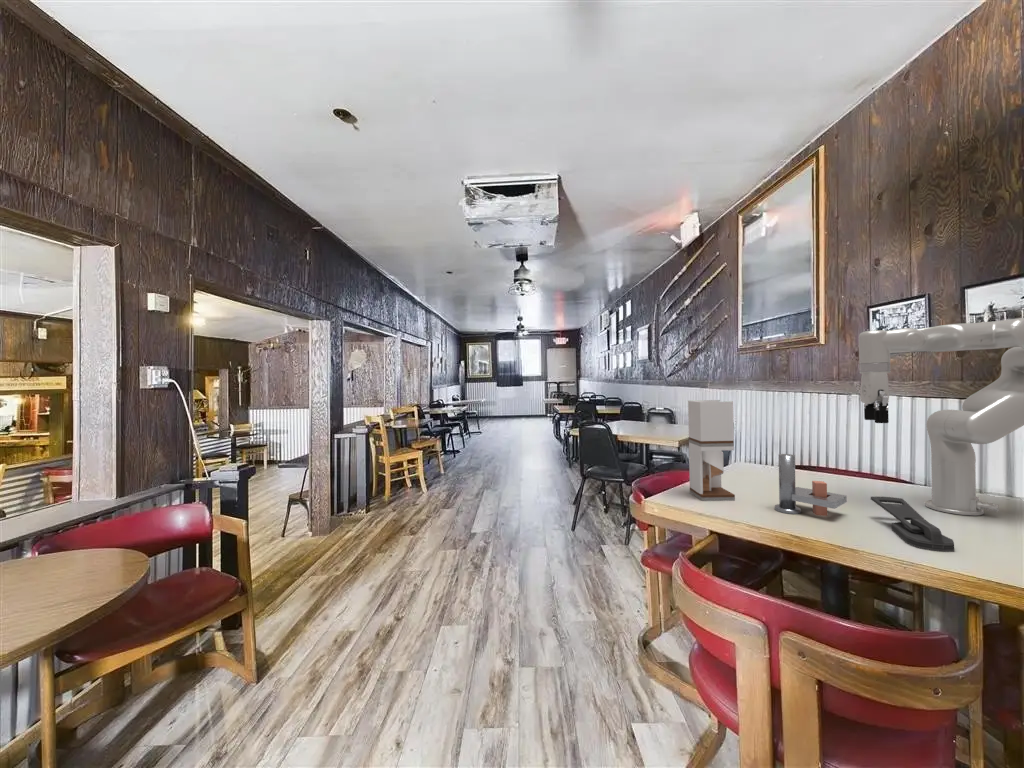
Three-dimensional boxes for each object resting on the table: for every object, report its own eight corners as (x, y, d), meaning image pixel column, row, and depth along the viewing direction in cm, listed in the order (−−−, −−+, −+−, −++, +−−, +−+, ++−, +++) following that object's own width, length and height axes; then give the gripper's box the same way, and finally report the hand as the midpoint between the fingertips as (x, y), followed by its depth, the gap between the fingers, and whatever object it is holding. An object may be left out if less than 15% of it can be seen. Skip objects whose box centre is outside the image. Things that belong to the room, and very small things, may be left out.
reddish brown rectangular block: (812, 512, 129) (812, 480, 129) (824, 512, 128) (823, 481, 128) (815, 514, 126) (815, 483, 126) (827, 515, 125) (826, 483, 125)
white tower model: (701, 500, 143) (700, 402, 143) (689, 492, 154) (688, 400, 154) (734, 500, 143) (733, 401, 142) (720, 492, 153) (718, 399, 153)
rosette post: (846, 514, 126) (845, 457, 126) (832, 524, 118) (831, 462, 118) (787, 502, 139) (786, 450, 139) (770, 510, 132) (769, 455, 132)
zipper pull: (904, 497, 121) (961, 526, 97) (904, 519, 121) (962, 554, 97) (866, 495, 124) (914, 522, 101) (867, 516, 124) (914, 549, 101)
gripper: (851, 369, 141) (853, 418, 141) (868, 369, 125) (870, 424, 125) (879, 368, 137) (881, 419, 138) (901, 368, 122) (902, 424, 122)
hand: (876, 421), depth 132 cm, fingers open, 9 cm apart
